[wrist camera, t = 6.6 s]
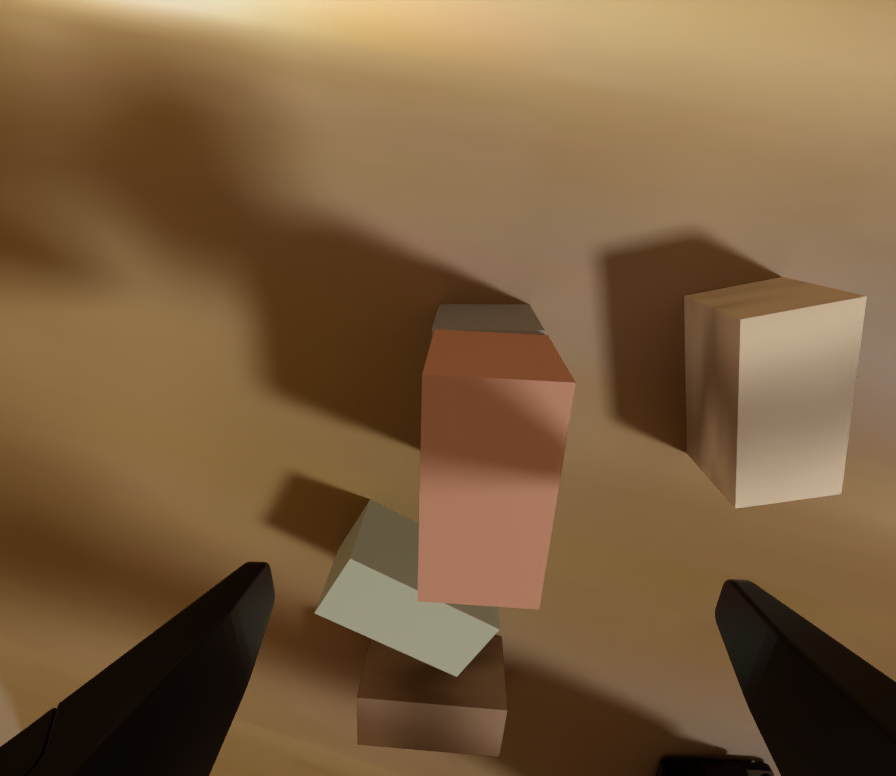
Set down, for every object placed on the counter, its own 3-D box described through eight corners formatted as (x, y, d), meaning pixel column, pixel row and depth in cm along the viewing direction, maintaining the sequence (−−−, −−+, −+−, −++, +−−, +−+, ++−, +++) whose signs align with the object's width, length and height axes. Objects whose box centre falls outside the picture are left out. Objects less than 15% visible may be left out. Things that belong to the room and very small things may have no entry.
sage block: (494, 559, 23) (499, 629, 19) (458, 603, 24) (456, 676, 20) (370, 497, 21) (350, 558, 18) (339, 546, 23) (314, 613, 19)
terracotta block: (523, 519, 17) (539, 609, 13) (429, 513, 17) (417, 601, 13) (547, 334, 14) (575, 382, 10) (434, 329, 14) (422, 374, 10)
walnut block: (501, 634, 24) (507, 710, 21) (494, 677, 26) (499, 756, 22) (373, 623, 25) (356, 697, 21) (373, 667, 26) (357, 744, 22)
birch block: (769, 438, 19) (841, 494, 16) (685, 451, 20) (735, 508, 16) (779, 276, 17) (866, 296, 13) (682, 294, 17) (740, 319, 14)
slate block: (519, 458, 20) (530, 516, 17) (441, 457, 20) (435, 513, 17) (528, 303, 18) (544, 330, 14) (439, 303, 18) (431, 329, 14)
